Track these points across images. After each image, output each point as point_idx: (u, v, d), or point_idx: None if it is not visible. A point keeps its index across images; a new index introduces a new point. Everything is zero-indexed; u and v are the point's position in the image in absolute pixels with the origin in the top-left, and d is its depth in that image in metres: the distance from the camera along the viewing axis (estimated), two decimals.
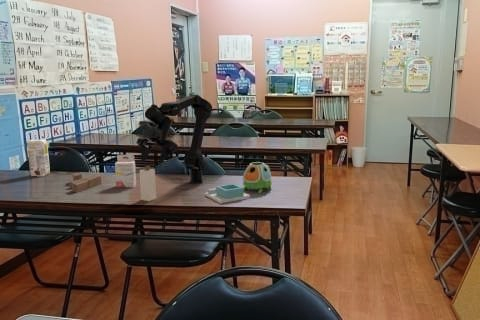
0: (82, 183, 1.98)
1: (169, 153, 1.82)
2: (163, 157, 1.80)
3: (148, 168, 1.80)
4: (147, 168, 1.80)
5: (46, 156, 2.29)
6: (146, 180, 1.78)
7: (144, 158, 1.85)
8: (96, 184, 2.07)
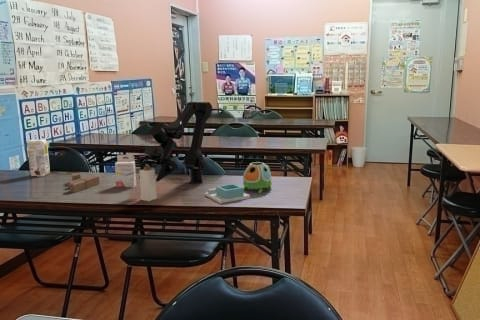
0: (79, 183, 1.97)
1: (168, 172, 1.82)
2: (162, 175, 1.80)
3: (148, 168, 1.80)
4: (147, 168, 1.80)
5: (46, 156, 2.29)
6: (146, 180, 1.78)
7: None
8: (94, 184, 2.06)
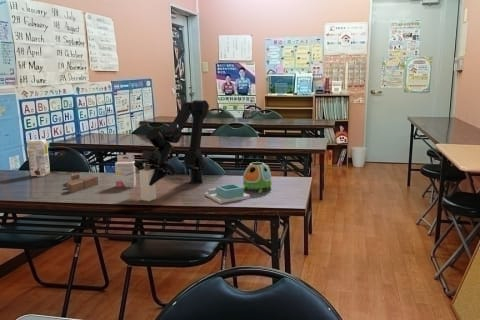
0: (77, 183, 1.97)
1: (161, 176, 1.82)
2: (155, 179, 1.80)
3: (148, 168, 1.80)
4: (147, 168, 1.79)
5: (46, 156, 2.29)
6: (146, 180, 1.78)
7: None
8: (92, 184, 2.06)
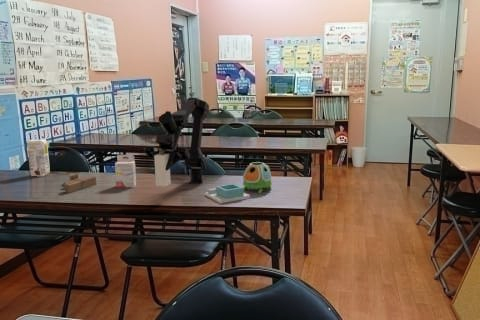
0: (75, 184, 1.97)
1: (176, 160, 1.79)
2: (170, 163, 1.76)
3: (163, 153, 1.76)
4: (162, 152, 1.75)
5: (46, 156, 2.29)
6: (162, 165, 1.74)
7: None
8: (90, 185, 2.05)
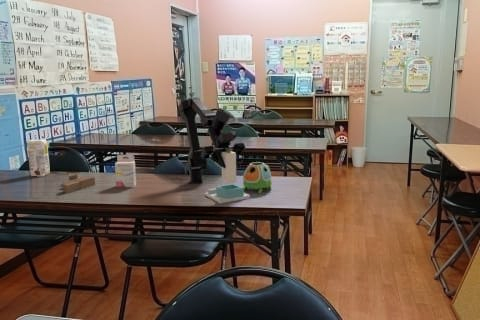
0: (73, 184, 1.97)
1: None
2: None
3: None
4: None
5: (46, 156, 2.29)
6: (234, 162, 1.78)
7: None
8: (89, 185, 2.05)
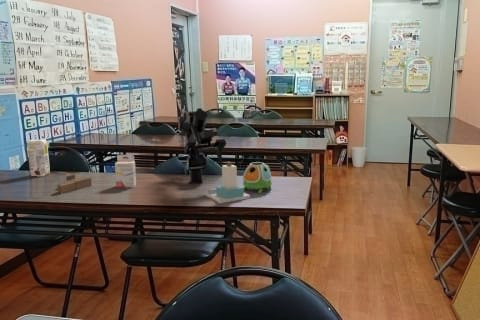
0: (68, 184, 1.96)
1: None
2: None
3: None
4: None
5: (46, 156, 2.29)
6: (234, 175, 1.79)
7: None
8: (85, 186, 2.04)
